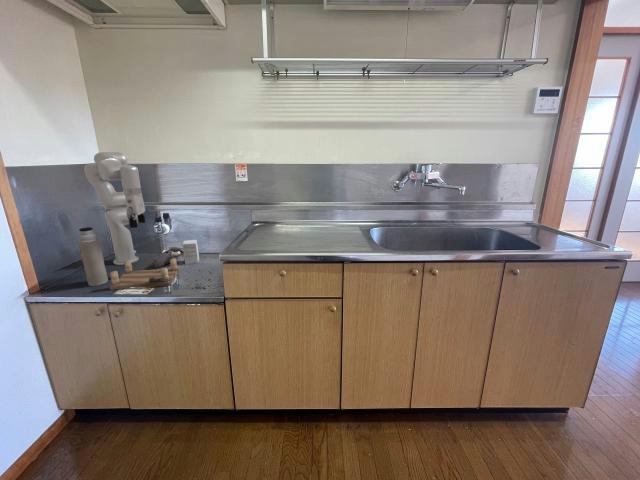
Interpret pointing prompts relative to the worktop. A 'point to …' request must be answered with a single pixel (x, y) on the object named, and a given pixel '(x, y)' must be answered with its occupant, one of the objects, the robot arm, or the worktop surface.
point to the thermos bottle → (92, 257)
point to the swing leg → (163, 276)
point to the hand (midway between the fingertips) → (138, 225)
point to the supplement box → (190, 251)
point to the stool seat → (142, 277)
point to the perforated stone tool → (163, 258)
